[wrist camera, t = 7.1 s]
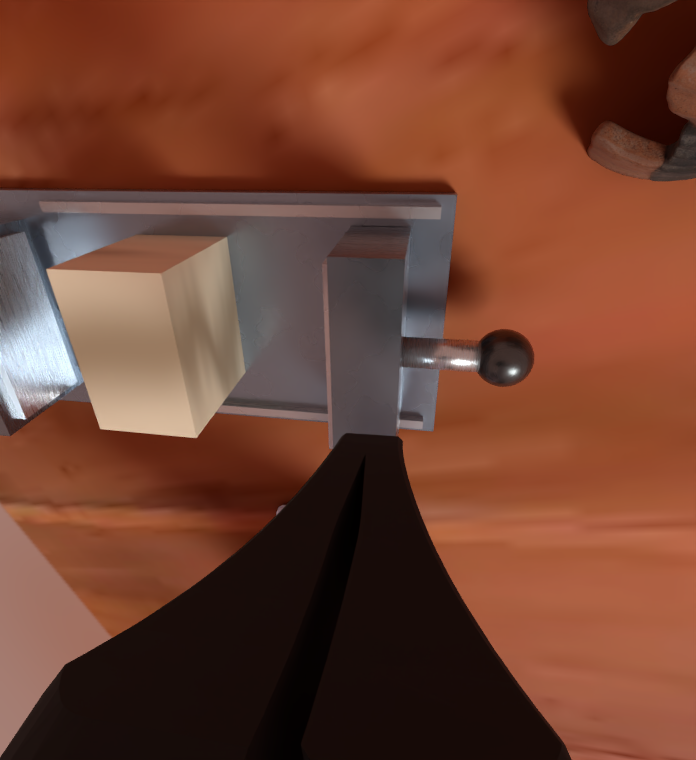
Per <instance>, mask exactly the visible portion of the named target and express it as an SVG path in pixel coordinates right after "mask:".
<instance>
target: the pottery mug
mask: <svg viewBox="0 0 696 760" xmlns="http://www.w3.org/2000/svg"><path fill="white" fill-rule="evenodd" d="M675 1H677V0H588V2H587V8H588V14H589V16H590V18H591V21H592V23H593V25H594V27H595V29H596V32H597V34H598V36H599V38H600V39H601V40H602V41H603V42H604V43H605V44H607V45H609V46H610V45H615V44H617V43H618V42H619V41H620V40H621V39H622V38H623V37H624V36H625V35H626V34H627V33H628V32H629V31H630V30H631V28H632V27H633V26H634V25H635V24H636V23H637V21H638V20H639V18H640V17H641V15H642V14H644V13H648V12H653V11H656V10H658V9H660V8H662V7H665V6H667V5H669V4H671V3H673V2H675ZM668 85H669V87H668V90H667V96H666V99H667V102H668V107H669V109H670V110H671V111H672V112H673V113H675V114H677V115H679V116H680V117H682V118H685V119H687V120H689V121H688V122H687V123H686V124H685V126H684V127H683V129H682V131H681V133H680V137H679V139H678V141H676V142H675V143H673V144H671V145H664V144H661V143H659V142H655V141H653V140H649V139H646V138H644V137H642V136H639V135H636V134H634V133H633V132H631V131H629V130H627V129H624V128H623V127H621V126H619V125H617V124H616V123H614V122H611V121H604V122H602V123H601V124H600V125H599V126H598V127H597V129H596V130H595V132H594V133H593V135H592V137H591V143H590V145H589V147H588V149H587V153H588V155H589V157H590V158H591V159H592V160H594V161H596V162H597V163H599V164H600V165H602V166H603V167H605V168H607V169H610V170H612V171H614V172H617V173H620V174H622V175H626V176H631V177H635V178H639V179H650V180H652V181H675V180H687V179H692V178H696V46H695V47H694V49H693V50H692V51H691V52H690V53H689V55H688V56H687V57H686V58H684V59H683V60H682V61H681V62H680V63H679V64H678V65H677V67H676V68H675V69H674V71H673V72H672V74H671V75H670V77H669V80H668Z"/></svg>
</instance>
